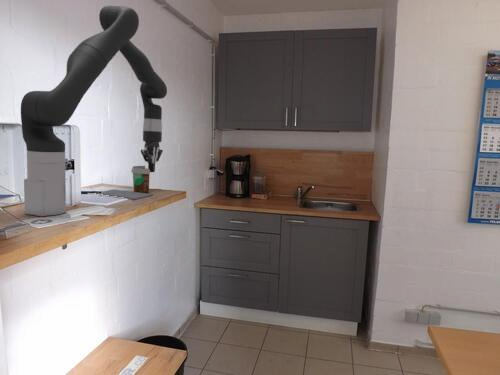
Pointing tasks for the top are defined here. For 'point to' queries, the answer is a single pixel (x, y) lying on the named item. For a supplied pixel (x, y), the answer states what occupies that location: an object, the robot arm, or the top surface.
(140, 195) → the mat
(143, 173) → the food container
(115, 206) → the top surface
